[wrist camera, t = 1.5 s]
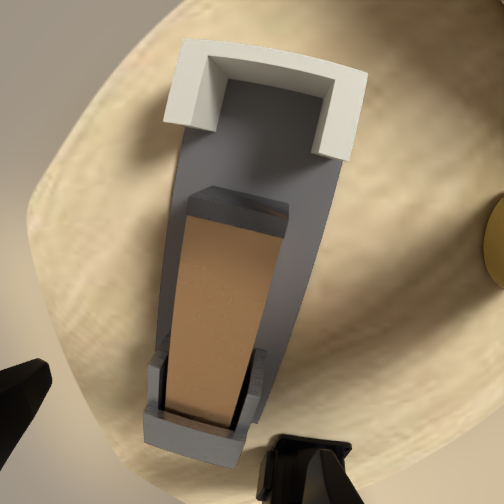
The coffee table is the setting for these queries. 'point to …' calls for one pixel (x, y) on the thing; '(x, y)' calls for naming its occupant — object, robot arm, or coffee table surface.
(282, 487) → the robot arm
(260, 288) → the tan wooden block
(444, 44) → the coffee table surface
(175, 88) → the socket
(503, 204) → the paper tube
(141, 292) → the coffee table surface
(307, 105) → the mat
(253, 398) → the sleeve
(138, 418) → the coffee table surface
